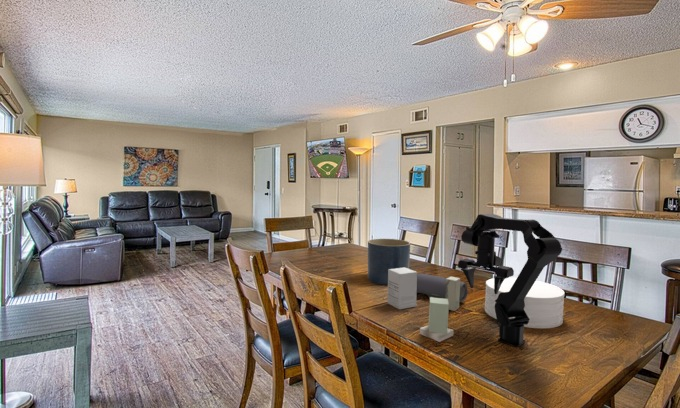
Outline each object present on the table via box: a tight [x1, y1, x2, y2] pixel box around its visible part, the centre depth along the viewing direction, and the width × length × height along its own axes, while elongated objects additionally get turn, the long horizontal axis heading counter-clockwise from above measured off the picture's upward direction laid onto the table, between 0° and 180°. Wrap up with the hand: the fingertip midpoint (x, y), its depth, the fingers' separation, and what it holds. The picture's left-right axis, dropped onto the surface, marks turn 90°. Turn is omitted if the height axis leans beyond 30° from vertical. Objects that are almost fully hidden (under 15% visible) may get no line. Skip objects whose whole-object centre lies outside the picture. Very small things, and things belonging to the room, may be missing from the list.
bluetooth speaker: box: [417, 273, 469, 303], centre depth 166 cm, size 23×9×10 cm, turn 50°
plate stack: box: [484, 276, 565, 329], centre depth 148 cm, size 28×28×12 cm
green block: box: [427, 297, 449, 334], centre depth 127 cm, size 6×6×10 cm
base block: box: [419, 324, 454, 343], centre depth 127 cm, size 8×8×2 cm
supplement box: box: [387, 267, 418, 310], centre depth 156 cm, size 9×9×15 cm
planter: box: [367, 238, 411, 286], centre depth 195 cm, size 22×22×20 cm
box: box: [445, 276, 461, 312], centre depth 153 cm, size 5×4×13 cm
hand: (483, 290), depth 135 cm, fingers open, 9 cm apart
